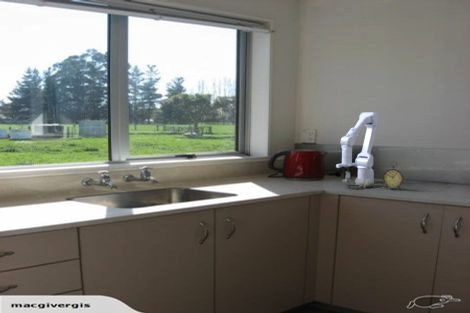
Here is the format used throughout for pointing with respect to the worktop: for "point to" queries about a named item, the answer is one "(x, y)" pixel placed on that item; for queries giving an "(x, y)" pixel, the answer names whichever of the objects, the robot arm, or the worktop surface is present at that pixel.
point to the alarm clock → (393, 177)
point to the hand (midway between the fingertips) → (346, 178)
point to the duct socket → (361, 183)
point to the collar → (347, 177)
